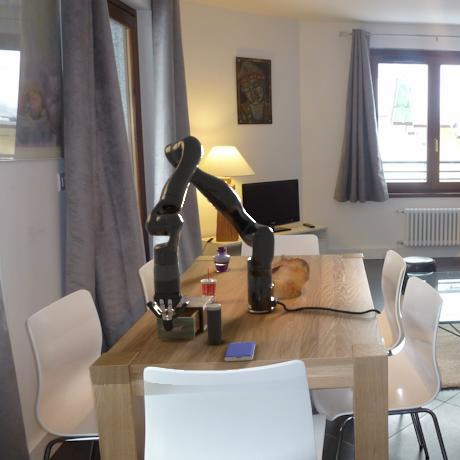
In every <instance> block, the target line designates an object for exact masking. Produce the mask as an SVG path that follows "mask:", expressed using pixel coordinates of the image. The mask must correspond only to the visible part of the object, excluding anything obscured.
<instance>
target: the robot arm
mask: <svg viewBox="0 0 460 460" xmlns="http://www.w3.org/2000/svg"><path fill="white" fill-rule="evenodd" d="M163 152H164V156H165V158H166V160H167V161H168V163H169V164H170V165H171V166H172V167H173V168H174V171H172V173H171V174H170V176H169V177H168V178H167V180H166V181H165V183H164V185H163V187H162V189H161V192H160V196H159V199H158V201H157V203H156V204H155V206H154V207H153V208H152V209H151V211H150V212H149V214H148V215H147V217H146V220H145V223H144V224H145V230H146V233H148V234H149V235H150V236H153V237H168V241H166V242H161V243H157V244H155V245H154V246H153V288H154V294H153V297H152V299H151V300H149V301H148V302H146V307H148V308H147V309H149V310H150V311H151V312H152V314H153V315H155V317H156V319H157V318H162V319H163V325H164V329H166V331H171V330H172V329H173V328H174V318H177V317H178V316H179V315H180V314H181V313H182V312H183V311H184V309H185V308H186V307H187V305H188V304H189V301H185V300H184V299H183V298H182V293H181V272H180V271H181V270H180V265H179V245H180V239H181V236H182V232H183V227H184V220H183V218H182V216H181V215H180V214H178V213H180V212H181V211H182V209H183V204H184V201H185V198H186V195H187V191H188V187H189V185H190V184H191V185H192V186H193V187H194V188H195V189H196V190H197V191H199V193H200V194H201V195H202V196H203V197H204V198H205V199H206V201H207V202H208V203H209V204H210V205H211V206H212V207H213V208H214V209H215V210H216V212H217V213H219V214H220V216H222V218H223V219H224V220H225V221H227V223H228V224H230V225H231V227H232V228H233V230H235V232H236V233H237V235H238V236H239V237H240V240H242V242H243V243H244V244H245V245H246V246H248V247H249V248H252V249H251V257H249V258H248V259H247V260H246V276H247V277H246V281H247V282H246V284H247V286H246V287H247V303H246V308H247V312H248V313H250V314H259V315H260V314H267V313H272V312H273V311H274V308H277V306H278V305H280V306H282V307H283V310H284V311H285V312H299V311H303V310H317V311H319V310H320V311H328V312H335V313H341V314H347V315H357V316H359V315H366V314H368V313H372V312H373V313H377V314H379V315H381V314H382V312H381V311H379V310H378V309H376V308H371V309H367V310H364V311H350V310H344V309H336V308H331V307H324V306H301V307H297V308H293V309H291V308H287V305H286V304H285V303H284V302H282V301H280V300H279V297H278V296H275V295H274V293H275V289H274V284H273V261H274V258H275V246H276V245H275V244H276V243H275V239H276V238H275V233H274V231H273V229H272V228H271V227H269V226H267V225H264V224H261V223H258V222H256V221H255V220H254V219H253V218H252V217H251V216H250V215H249V214H248V213H247V212H246V210H245V208H244V206H243V203H242V201H241V198H240V197H239V195H238V193H237V192H236V191H235V190H234V189H233V188H232V187H231V186H230V184H229V183H228V182H227V181H225V180H224V179H222V178H220V177H218V176H215V175H212V174H210V173H208V172H206V171H204V170H203V169H201V168H199V167H198V166H199V164H200V163H201V160H202V159H203V156H204V147H203V145H202V142H201V141H200V140H199V139H198V138H197V137H195V136H194V135H187V136H183V137H180V138H178V139H176V140H174V141H171V142H170V143H168V144H167V145H165V147H164V150H163ZM179 302H180V306H181V307H180V309H179V310H178V311H177V312H176V313H175V307H176V306H177V305H178V303H179Z"/></svg>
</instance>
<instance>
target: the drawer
mask: <svg viewBox="0 0 460 460" xmlns="http://www.w3.org/2000/svg"><path fill="white" fill-rule="evenodd" d="M177 311H178V310H175V313H176V312H177ZM156 327H157V329H156V331H157V339H195V338H196V333H198V332H197V331H198V329H199V328H200V327H201V315H200V310H184V311H183V312H182V313H181V314H180V315H179V316H178V317H177V318H174V328H173V329H172V330H171V331H166V329H164V325H163V319H162V318H157V317H156Z"/></svg>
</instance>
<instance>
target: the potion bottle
mask: <svg viewBox="0 0 460 460" xmlns="http://www.w3.org/2000/svg"><path fill="white" fill-rule="evenodd" d="M226 252H227V248H226V246H225V245H218V246H217V248H216V253H218V254H216V255H212V260H213V264H214V266H215V269H216V270H215V271H216V272H218V273H225V272H228V270H229V269H228V268H229V264H230V260H231V255H229V254H225V253H226Z"/></svg>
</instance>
